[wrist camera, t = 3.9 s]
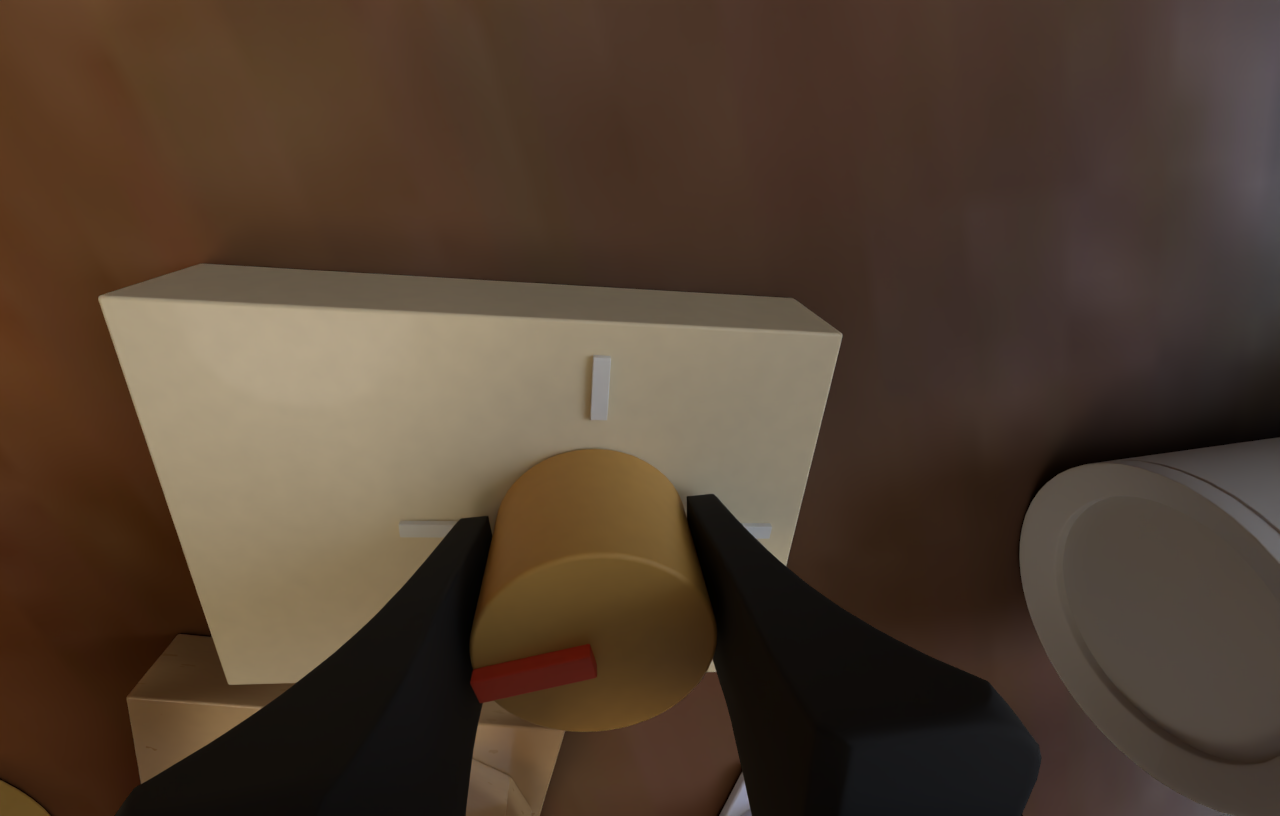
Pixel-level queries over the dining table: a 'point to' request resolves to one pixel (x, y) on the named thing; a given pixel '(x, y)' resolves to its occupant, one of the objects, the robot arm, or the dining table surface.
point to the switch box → (209, 707)
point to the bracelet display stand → (18, 803)
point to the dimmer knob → (591, 597)
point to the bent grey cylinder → (1169, 612)
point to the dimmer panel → (434, 423)
